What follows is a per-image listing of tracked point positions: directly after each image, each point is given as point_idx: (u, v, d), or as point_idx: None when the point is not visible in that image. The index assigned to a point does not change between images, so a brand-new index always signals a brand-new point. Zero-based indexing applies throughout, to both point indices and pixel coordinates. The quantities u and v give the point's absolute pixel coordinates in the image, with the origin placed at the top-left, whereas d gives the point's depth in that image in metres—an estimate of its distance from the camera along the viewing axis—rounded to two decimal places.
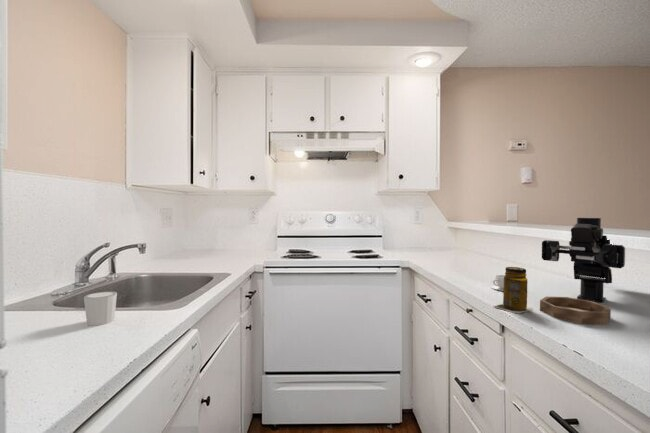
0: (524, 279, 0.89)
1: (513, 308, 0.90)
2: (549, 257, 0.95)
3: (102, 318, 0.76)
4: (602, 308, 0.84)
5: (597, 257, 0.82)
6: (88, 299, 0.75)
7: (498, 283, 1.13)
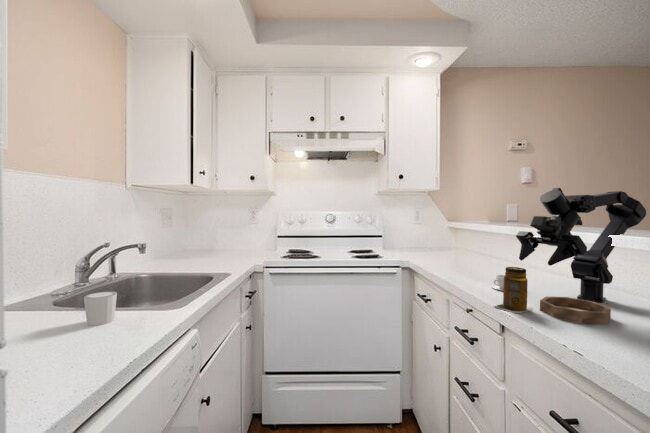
0: (524, 279, 0.89)
1: (513, 308, 0.90)
2: None
3: (102, 318, 0.76)
4: (602, 308, 0.84)
5: (551, 262, 0.89)
6: (88, 299, 0.75)
7: (499, 283, 1.13)
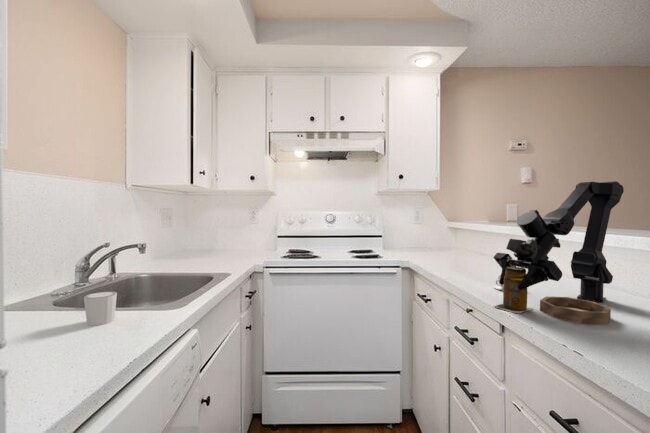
0: None
1: (513, 308, 0.90)
2: None
3: (102, 318, 0.76)
4: (602, 308, 0.84)
5: (521, 287, 0.88)
6: (88, 299, 0.75)
7: None
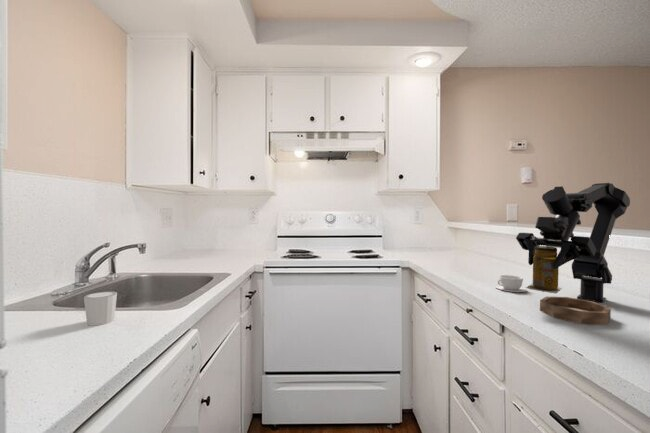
0: None
1: (546, 288, 0.86)
2: None
3: (102, 318, 0.76)
4: (602, 308, 0.84)
5: (556, 265, 0.85)
6: (88, 299, 0.75)
7: (503, 283, 1.13)
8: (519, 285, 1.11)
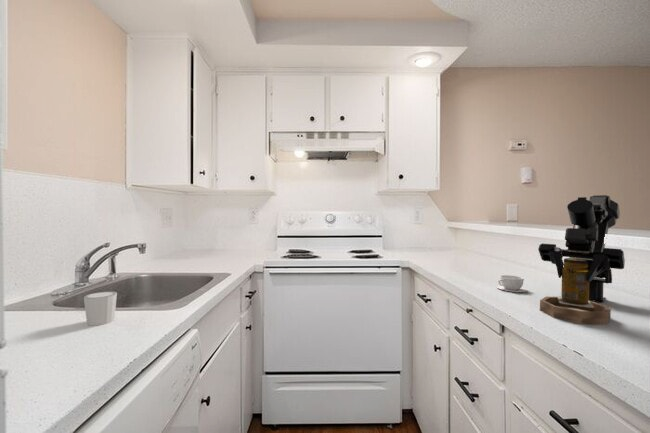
0: (588, 270, 0.85)
1: (580, 302, 0.84)
2: (554, 262, 0.93)
3: (102, 318, 0.76)
4: (602, 308, 0.84)
5: (590, 278, 0.83)
6: (88, 299, 0.75)
7: (503, 283, 1.13)
8: (520, 285, 1.11)
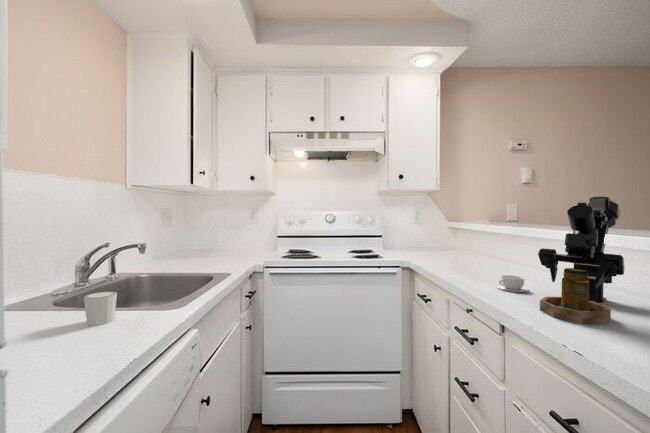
0: (588, 281, 0.85)
1: None
2: (549, 266, 0.94)
3: (102, 318, 0.76)
4: (602, 308, 0.84)
5: (597, 285, 0.81)
6: (88, 299, 0.75)
7: (504, 283, 1.13)
8: (521, 285, 1.11)
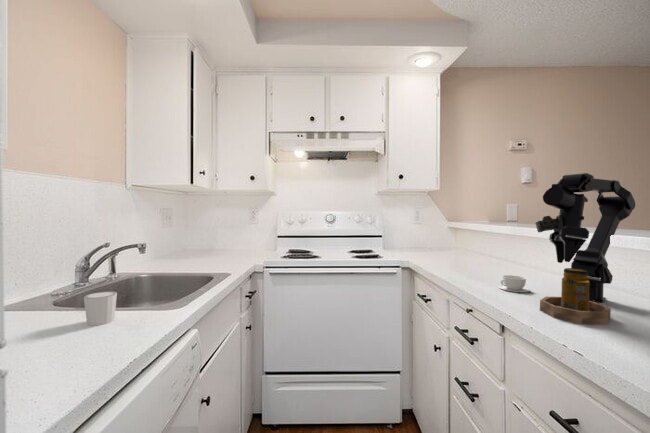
0: (588, 281, 0.85)
1: None
2: None
3: (102, 318, 0.76)
4: (602, 308, 0.84)
5: (567, 259, 0.91)
6: (88, 299, 0.75)
7: (506, 283, 1.13)
8: (522, 285, 1.11)
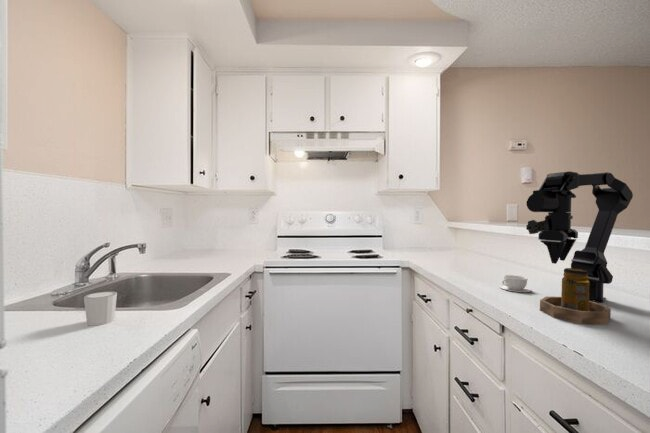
0: (588, 281, 0.85)
1: None
2: None
3: (102, 318, 0.76)
4: (602, 308, 0.84)
5: (553, 261, 0.94)
6: (88, 299, 0.75)
7: (507, 283, 1.13)
8: (524, 285, 1.11)
